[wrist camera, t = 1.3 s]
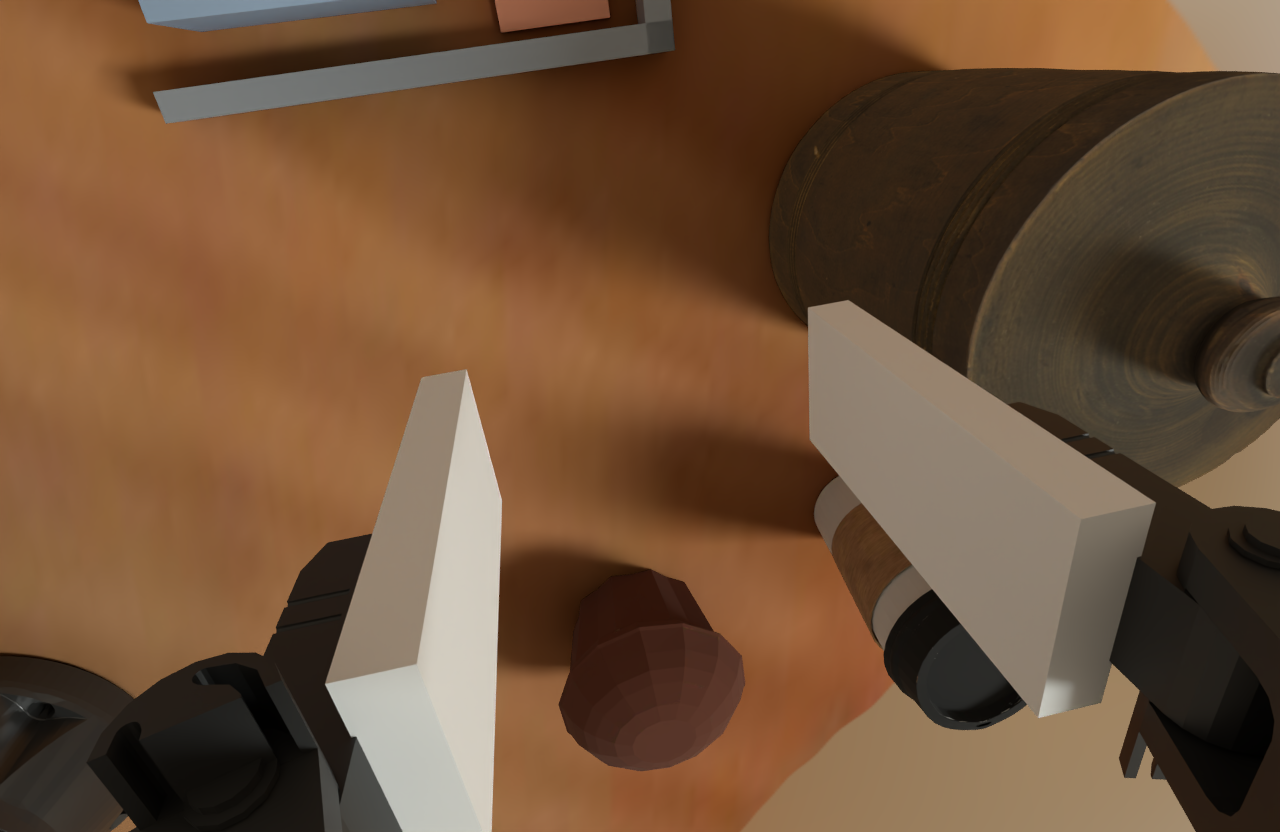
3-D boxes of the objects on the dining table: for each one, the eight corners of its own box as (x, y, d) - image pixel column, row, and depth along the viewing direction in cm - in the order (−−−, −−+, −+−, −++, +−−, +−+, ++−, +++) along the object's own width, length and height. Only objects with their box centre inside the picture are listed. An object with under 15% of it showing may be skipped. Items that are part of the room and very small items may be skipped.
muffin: (593, 699, 50) (610, 831, 42) (525, 600, 45) (527, 726, 36) (738, 636, 50) (786, 755, 41) (686, 528, 45) (728, 638, 36)
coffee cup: (797, 565, 48) (906, 751, 35) (793, 465, 44) (914, 631, 31) (909, 540, 49) (1057, 713, 35) (915, 439, 45) (1084, 591, 31)
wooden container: (1008, 314, 42) (1440, 518, 22) (778, 368, 41) (1019, 632, 21) (1030, 44, 35) (1685, -3, 15) (753, 102, 34) (1078, 131, 14)
